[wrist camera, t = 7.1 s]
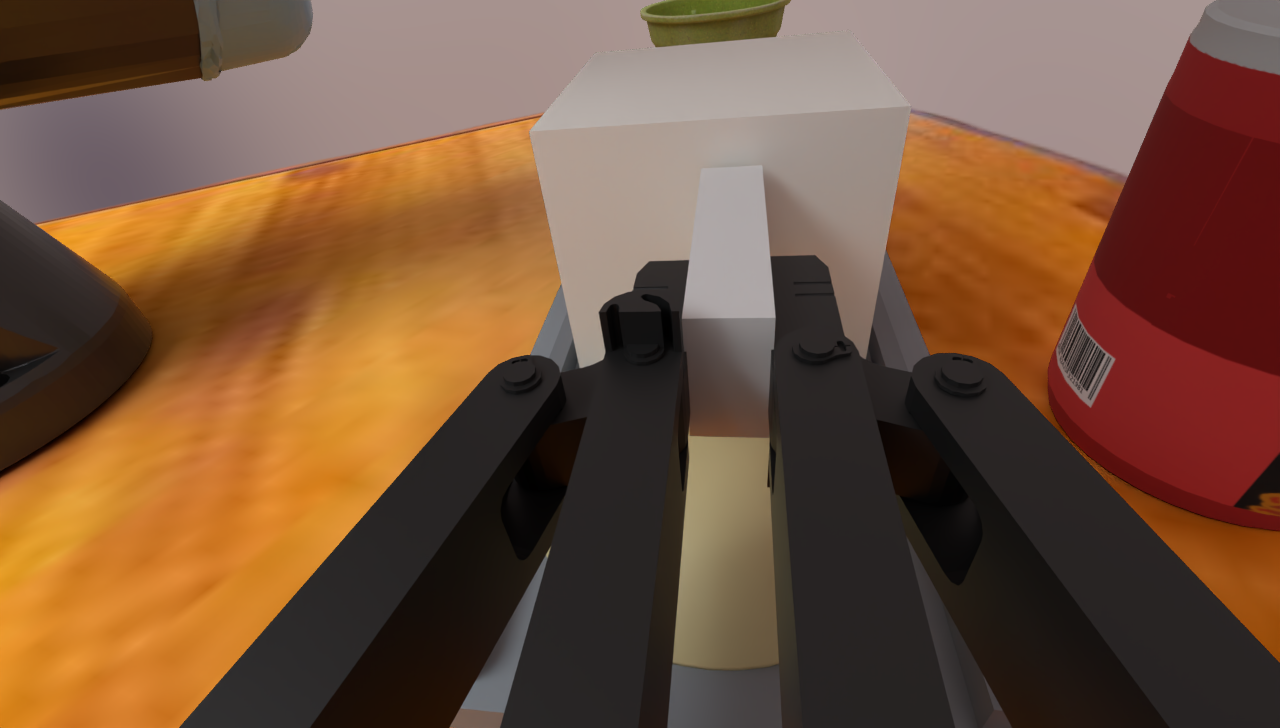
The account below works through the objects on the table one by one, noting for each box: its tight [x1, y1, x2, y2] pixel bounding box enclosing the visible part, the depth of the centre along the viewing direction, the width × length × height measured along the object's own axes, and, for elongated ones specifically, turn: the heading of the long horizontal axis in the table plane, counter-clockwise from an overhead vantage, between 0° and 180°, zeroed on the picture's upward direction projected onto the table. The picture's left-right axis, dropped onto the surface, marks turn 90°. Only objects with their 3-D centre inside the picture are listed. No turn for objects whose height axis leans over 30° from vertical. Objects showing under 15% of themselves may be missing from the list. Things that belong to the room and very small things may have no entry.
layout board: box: [450, 250, 1012, 728], centre depth 20 cm, size 24×14×4 cm, turn 173°
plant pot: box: [640, 0, 791, 47], centre depth 39 cm, size 9×9×9 cm
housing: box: [529, 31, 911, 368], centre depth 20 cm, size 9×9×8 cm
